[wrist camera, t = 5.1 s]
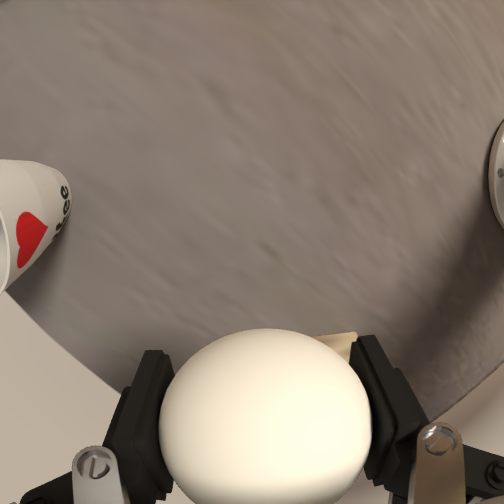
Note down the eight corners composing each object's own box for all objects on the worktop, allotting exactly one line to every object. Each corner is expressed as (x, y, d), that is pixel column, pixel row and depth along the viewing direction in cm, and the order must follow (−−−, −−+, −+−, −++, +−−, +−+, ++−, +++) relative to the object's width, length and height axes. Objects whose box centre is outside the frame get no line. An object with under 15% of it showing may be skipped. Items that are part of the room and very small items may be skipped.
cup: (57, 263, 24) (-11, 325, 15) (0, 202, 22) (-79, 240, 12) (106, 192, 22) (30, 234, 13) (41, 127, 20) (-49, 137, 10)
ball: (350, 282, 10) (437, 429, 4) (336, 409, 12) (370, 533, 6) (161, 296, 10) (95, 453, 4) (192, 419, 12) (176, 547, 6)
